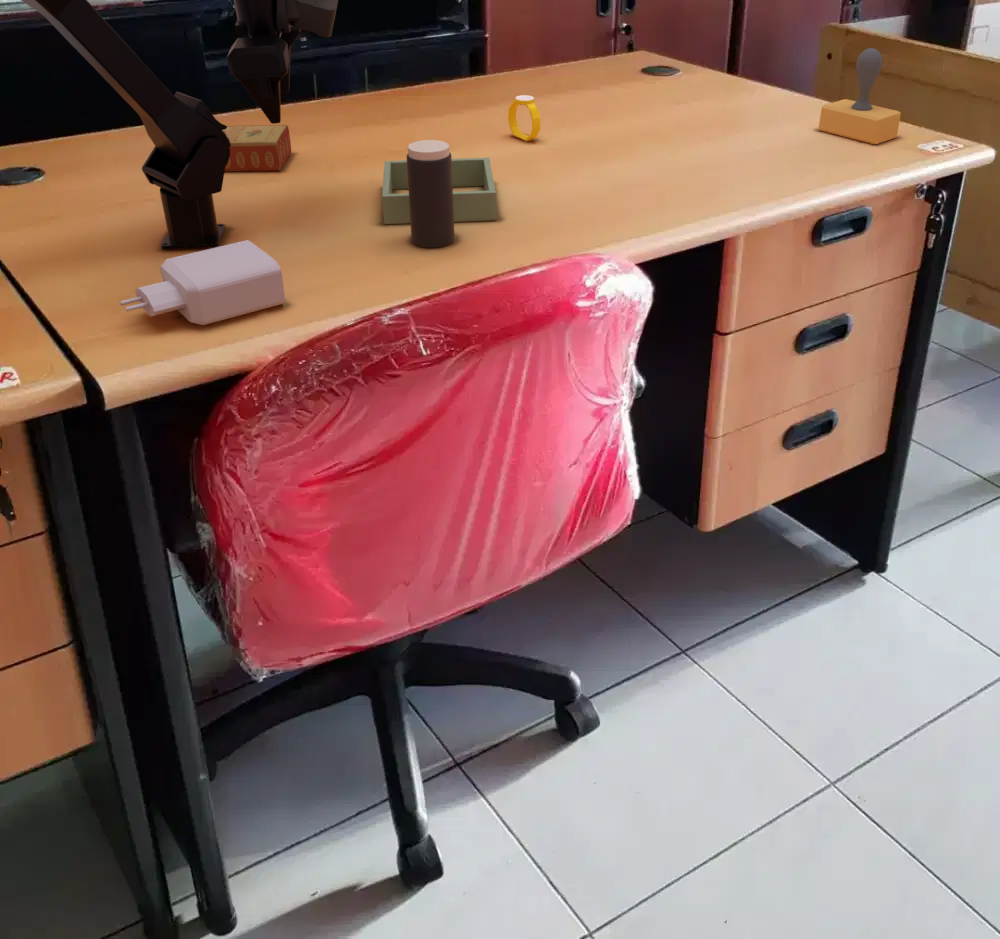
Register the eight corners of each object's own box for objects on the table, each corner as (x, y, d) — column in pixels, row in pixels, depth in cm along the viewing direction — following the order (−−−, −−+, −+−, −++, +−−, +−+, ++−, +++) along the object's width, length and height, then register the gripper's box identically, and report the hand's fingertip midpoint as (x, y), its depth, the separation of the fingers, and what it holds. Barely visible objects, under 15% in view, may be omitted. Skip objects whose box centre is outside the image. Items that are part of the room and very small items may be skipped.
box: (496, 220, 130) (495, 192, 128) (384, 224, 130) (381, 196, 128) (489, 183, 142) (489, 157, 140) (386, 187, 141) (384, 160, 139)
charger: (113, 313, 110) (250, 278, 117) (143, 346, 103) (286, 307, 110) (103, 269, 107) (244, 236, 114) (134, 301, 101) (281, 263, 108)
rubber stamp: (897, 137, 157) (914, 51, 150) (874, 145, 154) (890, 57, 147) (840, 123, 163) (853, 39, 156) (816, 130, 160) (829, 45, 153)
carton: (280, 172, 147) (276, 140, 144) (164, 172, 147) (158, 141, 145) (292, 153, 154) (288, 122, 151) (181, 153, 154) (175, 123, 152)
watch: (504, 135, 160) (503, 94, 156) (518, 132, 161) (518, 91, 158) (529, 145, 156) (529, 103, 152) (544, 141, 157) (544, 99, 154)
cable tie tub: (455, 247, 123) (451, 151, 117) (411, 248, 123) (405, 153, 117) (453, 231, 128) (450, 138, 121) (411, 232, 127) (406, 139, 121)
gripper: (319, -12, 111) (342, 134, 121) (333, -60, 125) (352, 74, 135) (212, -4, 111) (243, 141, 121) (238, -53, 125) (264, 81, 135)
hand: (280, 107), depth 128 cm, fingers open, 9 cm apart
